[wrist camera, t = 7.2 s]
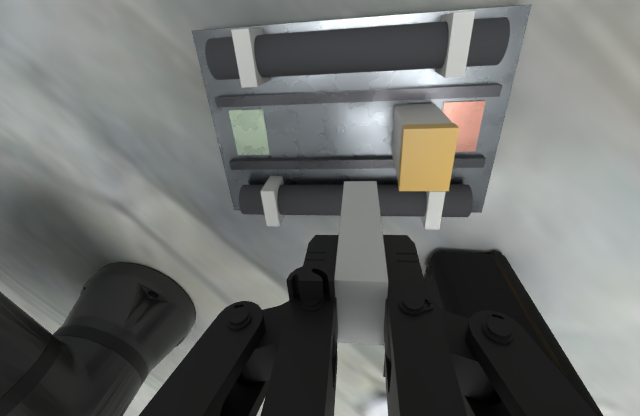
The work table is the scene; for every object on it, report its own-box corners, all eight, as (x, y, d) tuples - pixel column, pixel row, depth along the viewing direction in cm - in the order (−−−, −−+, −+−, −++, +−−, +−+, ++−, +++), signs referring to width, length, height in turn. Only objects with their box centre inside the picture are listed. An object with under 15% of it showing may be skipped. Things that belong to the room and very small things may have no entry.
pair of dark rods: (252, 208, 31) (241, 225, 28) (217, 32, 23) (197, 32, 20) (458, 210, 28) (469, 229, 25) (498, 10, 20) (519, 7, 18)
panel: (241, 200, 33) (231, 213, 31) (203, 30, 25) (186, 31, 23) (474, 201, 30) (484, 216, 27) (518, 6, 22) (537, 3, 19)
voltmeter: (475, 341, 40) (604, 706, 18) (407, 335, 41) (455, 673, 19) (512, 247, 32) (817, 696, 10) (427, 241, 33) (546, 641, 11)
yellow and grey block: (391, 153, 26) (399, 191, 20) (393, 104, 24) (403, 129, 18) (428, 153, 25) (448, 191, 19) (434, 102, 23) (459, 127, 17)
